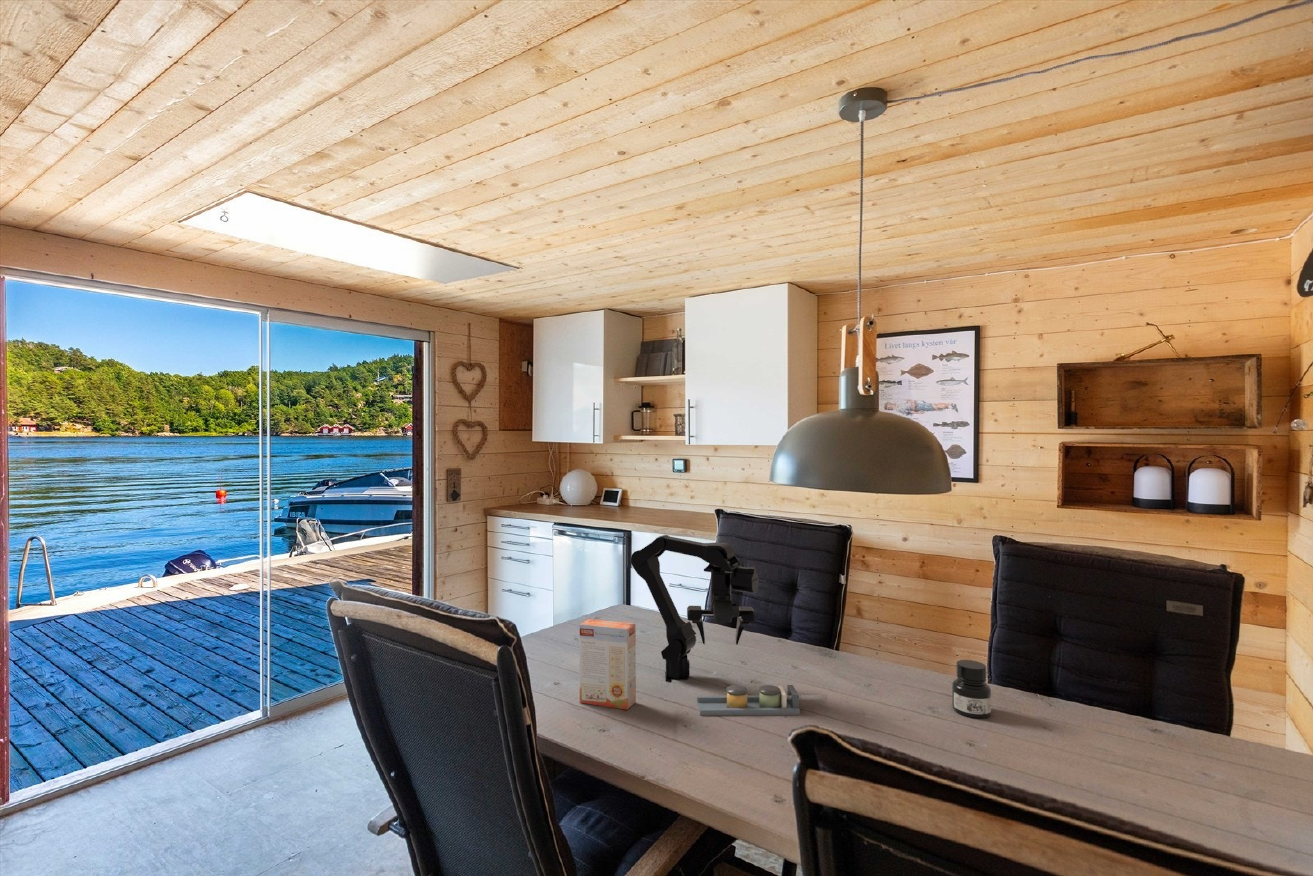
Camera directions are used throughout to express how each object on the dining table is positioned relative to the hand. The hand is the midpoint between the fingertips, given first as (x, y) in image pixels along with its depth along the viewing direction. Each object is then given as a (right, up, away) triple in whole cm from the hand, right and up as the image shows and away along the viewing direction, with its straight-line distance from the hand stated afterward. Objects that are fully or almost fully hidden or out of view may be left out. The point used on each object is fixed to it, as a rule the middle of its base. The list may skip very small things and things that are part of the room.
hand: (720, 644), depth 174 cm
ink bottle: (+62, -12, -16) cm, 66 cm away
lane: (+5, -12, -15) cm, 20 cm away
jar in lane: (+11, -11, -15) cm, 22 cm away
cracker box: (-31, -12, -11) cm, 35 cm away
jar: (+3, -11, -15) cm, 19 cm away
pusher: (+20, -11, -15) cm, 27 cm away
